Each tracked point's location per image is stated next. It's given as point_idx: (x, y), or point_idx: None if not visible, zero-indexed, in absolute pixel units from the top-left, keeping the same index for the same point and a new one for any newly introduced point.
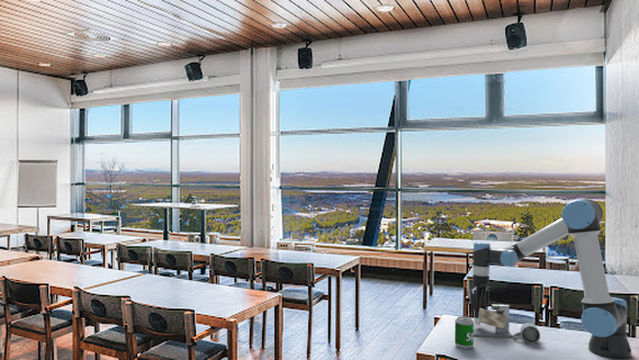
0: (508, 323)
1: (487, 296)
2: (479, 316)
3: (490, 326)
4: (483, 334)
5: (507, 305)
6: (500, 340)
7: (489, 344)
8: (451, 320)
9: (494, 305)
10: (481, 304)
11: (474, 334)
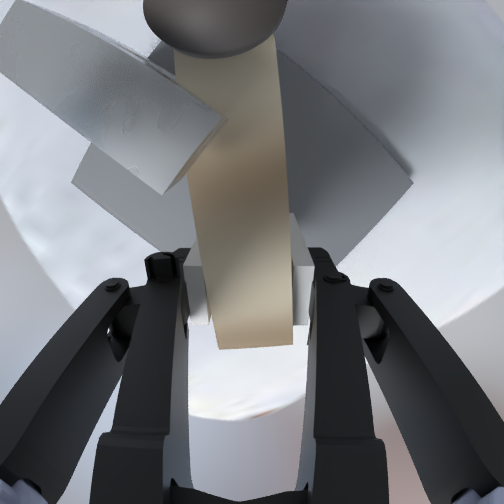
0: (125, 45)
1: (54, 393)
2: (304, 243)
3: (154, 197)
4: (364, 129)
5: (7, 27)
6: (329, 26)
7: (438, 54)
8: (236, 385)
9: (180, 105)
10: (186, 348)
11: (404, 172)
